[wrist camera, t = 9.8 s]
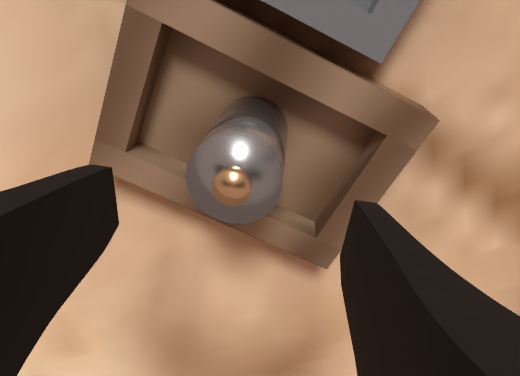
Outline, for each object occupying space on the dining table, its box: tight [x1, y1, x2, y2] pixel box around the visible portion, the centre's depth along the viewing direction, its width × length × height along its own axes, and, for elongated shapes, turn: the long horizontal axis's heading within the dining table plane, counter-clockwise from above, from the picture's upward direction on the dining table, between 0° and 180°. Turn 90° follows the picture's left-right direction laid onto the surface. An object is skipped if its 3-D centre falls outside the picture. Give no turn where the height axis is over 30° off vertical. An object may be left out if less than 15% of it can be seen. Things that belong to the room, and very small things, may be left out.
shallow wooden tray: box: [89, 0, 440, 269], centre depth 18 cm, size 14×10×2 cm
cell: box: [186, 96, 288, 224], centre depth 15 cm, size 4×4×6 cm
